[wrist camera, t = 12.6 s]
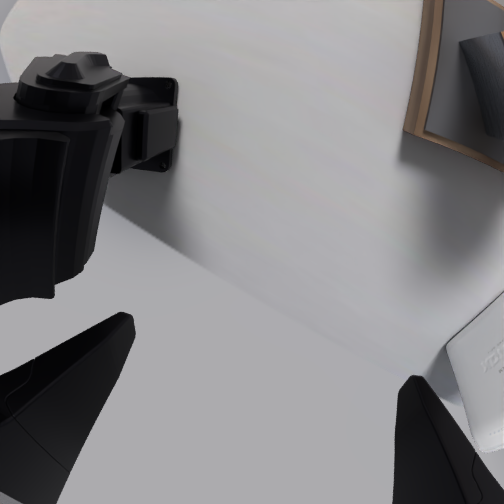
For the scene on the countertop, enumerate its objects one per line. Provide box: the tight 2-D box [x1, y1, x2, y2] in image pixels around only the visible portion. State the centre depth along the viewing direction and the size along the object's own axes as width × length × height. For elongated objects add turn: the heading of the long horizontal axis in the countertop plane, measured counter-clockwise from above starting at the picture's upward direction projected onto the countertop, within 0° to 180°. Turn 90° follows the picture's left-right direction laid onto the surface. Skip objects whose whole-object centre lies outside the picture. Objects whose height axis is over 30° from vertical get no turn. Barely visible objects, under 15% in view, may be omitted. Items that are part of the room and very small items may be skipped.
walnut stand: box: [403, 0, 504, 172], centre depth 12 cm, size 11×11×2 cm
